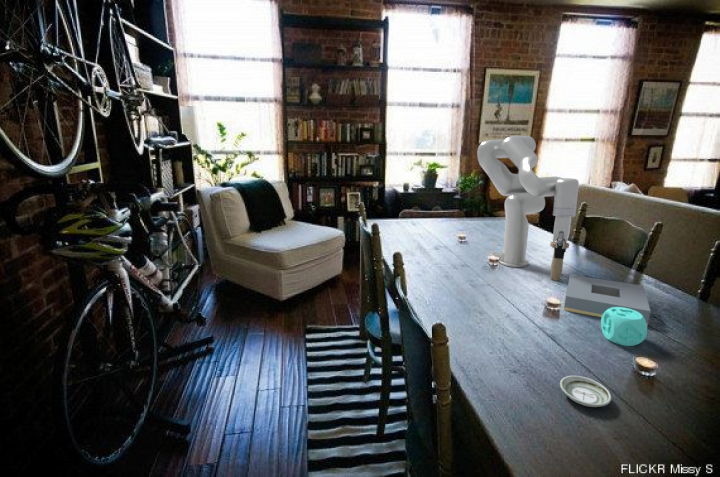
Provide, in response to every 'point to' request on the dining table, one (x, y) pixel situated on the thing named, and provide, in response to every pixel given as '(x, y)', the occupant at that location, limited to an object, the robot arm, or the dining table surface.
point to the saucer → (585, 391)
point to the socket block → (604, 296)
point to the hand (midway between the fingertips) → (559, 255)
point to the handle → (557, 263)
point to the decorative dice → (623, 326)
